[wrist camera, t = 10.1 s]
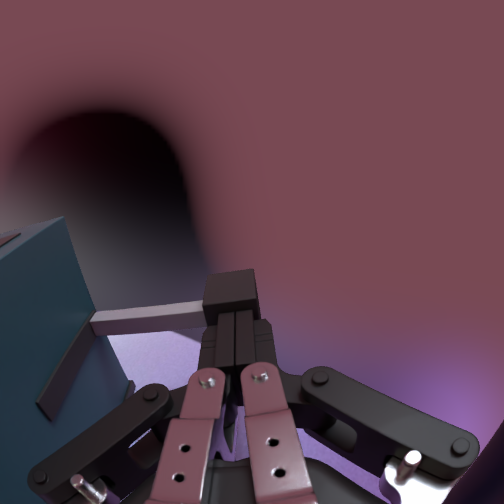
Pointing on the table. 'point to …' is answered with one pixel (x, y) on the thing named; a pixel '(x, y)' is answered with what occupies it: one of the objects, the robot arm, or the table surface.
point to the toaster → (48, 354)
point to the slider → (185, 308)
